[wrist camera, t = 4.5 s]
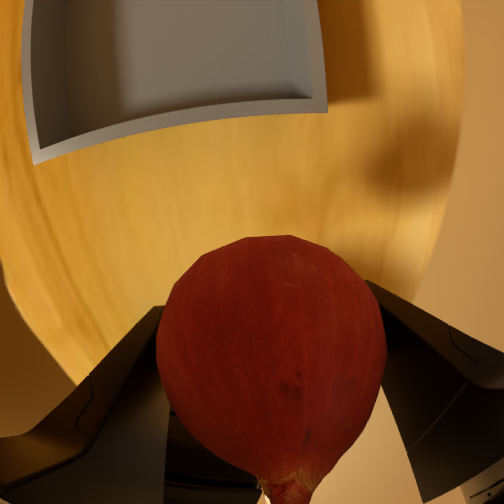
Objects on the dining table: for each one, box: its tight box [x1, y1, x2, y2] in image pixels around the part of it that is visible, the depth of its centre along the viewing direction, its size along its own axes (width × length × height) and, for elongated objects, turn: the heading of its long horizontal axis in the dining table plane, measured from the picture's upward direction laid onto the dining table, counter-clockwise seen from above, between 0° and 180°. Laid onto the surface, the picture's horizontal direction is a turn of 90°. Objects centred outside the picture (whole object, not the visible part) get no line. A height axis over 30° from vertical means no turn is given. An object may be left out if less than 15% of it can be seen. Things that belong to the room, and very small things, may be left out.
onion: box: [156, 235, 388, 504], centre depth 7 cm, size 6×6×8 cm
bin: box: [22, 0, 328, 165], centre depth 9 cm, size 13×13×4 cm
